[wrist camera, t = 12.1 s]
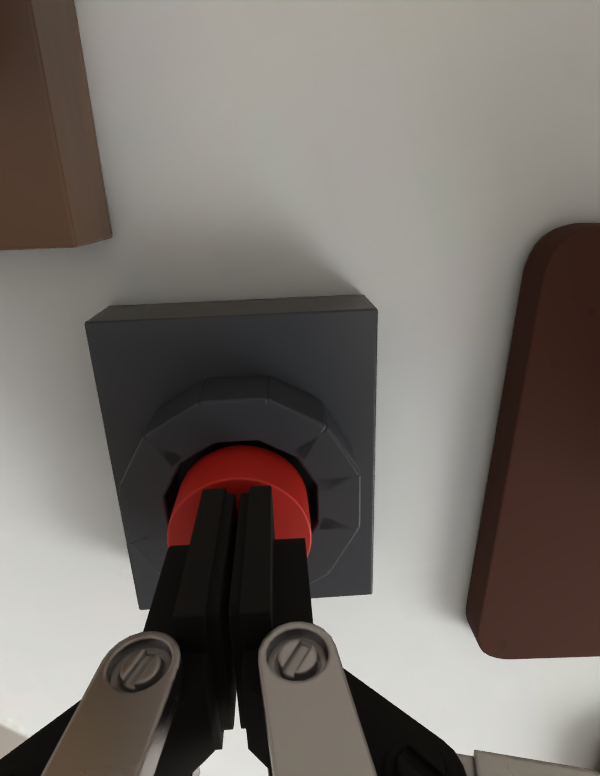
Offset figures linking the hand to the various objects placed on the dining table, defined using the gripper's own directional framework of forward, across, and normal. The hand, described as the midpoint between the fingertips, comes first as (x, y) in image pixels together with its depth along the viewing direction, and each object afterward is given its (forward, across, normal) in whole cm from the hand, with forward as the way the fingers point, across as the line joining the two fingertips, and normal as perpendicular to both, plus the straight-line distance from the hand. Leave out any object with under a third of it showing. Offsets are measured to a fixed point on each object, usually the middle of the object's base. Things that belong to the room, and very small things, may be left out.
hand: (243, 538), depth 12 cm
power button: (+2, 0, 0) cm, 2 cm away
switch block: (+6, 0, 0) cm, 6 cm away
